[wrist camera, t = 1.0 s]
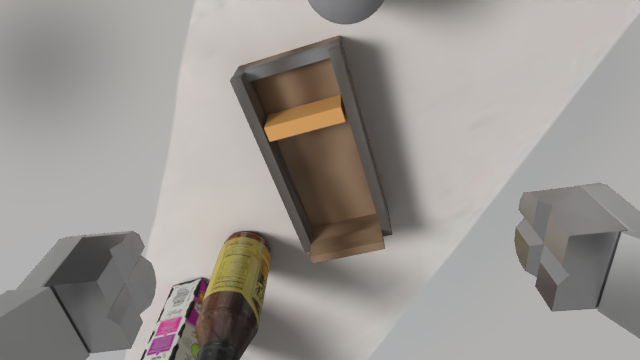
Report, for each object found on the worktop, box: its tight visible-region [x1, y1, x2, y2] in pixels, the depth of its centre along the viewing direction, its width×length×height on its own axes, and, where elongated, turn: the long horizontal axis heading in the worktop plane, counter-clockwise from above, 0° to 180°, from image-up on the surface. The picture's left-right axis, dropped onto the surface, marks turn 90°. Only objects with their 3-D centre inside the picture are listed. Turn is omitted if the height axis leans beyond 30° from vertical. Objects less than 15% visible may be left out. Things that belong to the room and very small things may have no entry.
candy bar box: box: [141, 278, 208, 360], centre depth 52 cm, size 11×5×16 cm, turn 23°
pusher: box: [264, 95, 345, 142], centre depth 40 cm, size 7×2×3 cm, turn 107°
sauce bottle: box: [195, 232, 271, 360], centre depth 44 cm, size 6×6×20 cm
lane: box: [230, 36, 392, 263], centre depth 42 cm, size 10×21×6 cm, turn 17°
